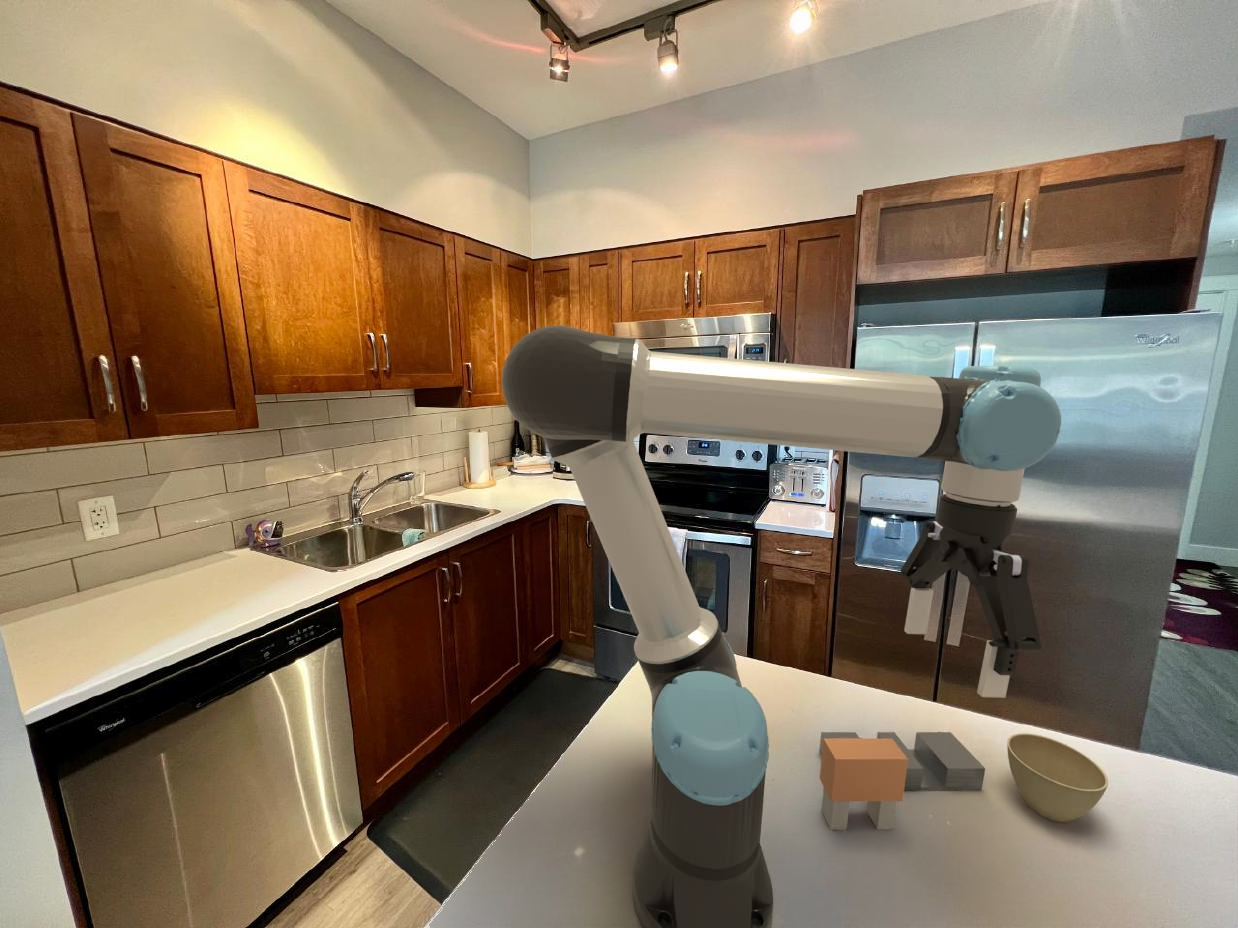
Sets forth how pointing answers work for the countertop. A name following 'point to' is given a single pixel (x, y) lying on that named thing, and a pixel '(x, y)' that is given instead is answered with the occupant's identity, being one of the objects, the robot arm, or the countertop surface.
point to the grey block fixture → (932, 761)
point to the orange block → (862, 779)
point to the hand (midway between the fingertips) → (949, 660)
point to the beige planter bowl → (1054, 777)
